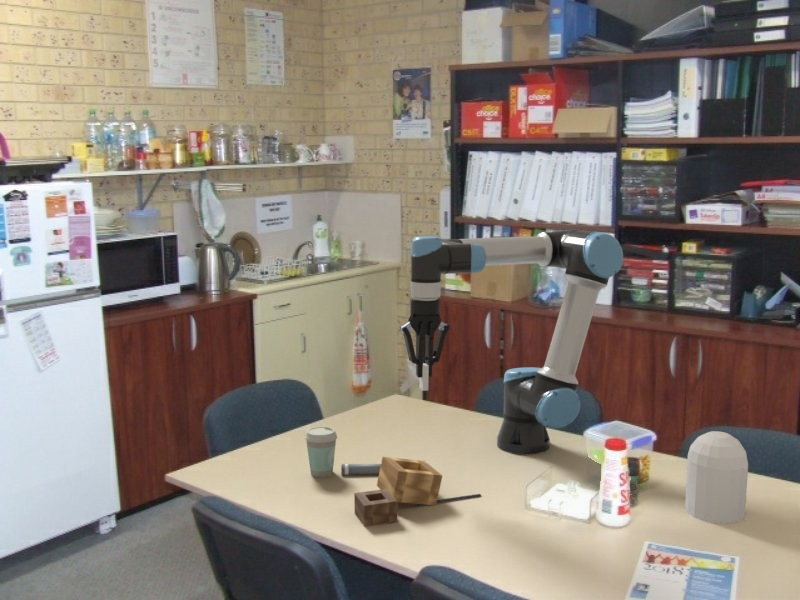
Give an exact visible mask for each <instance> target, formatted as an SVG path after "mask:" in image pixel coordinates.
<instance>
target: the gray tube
mask: <svg viewBox="0 0 800 600" xmlns="http://www.w3.org/2000/svg"><path fill="white" fill-rule="evenodd" d="M340 466H341V472H340V474H341V476H353V475H356V476H358V475H362V476H363V475H365V476H366V475H367V476H368V475H379V472H380V467H381V463H341V465H340Z"/></svg>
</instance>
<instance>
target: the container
mask: <svg viewBox="0 0 800 600" xmlns="http://www.w3.org/2000/svg"><path fill="white" fill-rule="evenodd" d="M686 457H687V466H686V485H685V486H686V487H685V503H684V504H685V505H684V508H685V511H686V513H688V515H690V516H691V517H693V518H695V519H698V520H701V521H703V522H708V523H712V524H725V525H726V524H733V523H738V522H740V521H742V520H744V519H745V516H746V505H747V492H748V491H747V488H748V474H749V473H748V472H749V462H748V456H747V451H746V449H745V448H744V447H743V445H742V444H741V442H740V441H739V439H737V438H736V437H735V436H732V435H731V434H730V433H727V432H725V431H724V432H723V431H717V430H713V431H708V432H706V433H703V434H700V435H699V436H698V437H696V438H695V440H694V441H693V442H692V443H691V444H690V446H689V450H688V453H687V456H686Z"/></svg>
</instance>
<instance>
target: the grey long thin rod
mask: <svg viewBox="0 0 800 600" xmlns="http://www.w3.org/2000/svg"><path fill="white" fill-rule="evenodd" d="M480 497H482V494H481V493H477V494H476V493H475V494H469V495H464V496H455V497H448V498H441V499H437V504H440V503H441V504H443V503H446V502H454V501H461V500H467V499H473V498H480ZM417 506H418V507H422V506H427V504H417Z"/></svg>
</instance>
